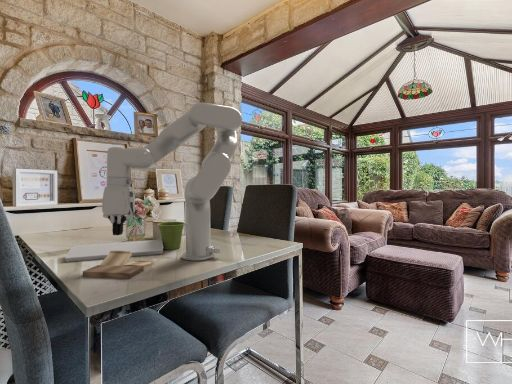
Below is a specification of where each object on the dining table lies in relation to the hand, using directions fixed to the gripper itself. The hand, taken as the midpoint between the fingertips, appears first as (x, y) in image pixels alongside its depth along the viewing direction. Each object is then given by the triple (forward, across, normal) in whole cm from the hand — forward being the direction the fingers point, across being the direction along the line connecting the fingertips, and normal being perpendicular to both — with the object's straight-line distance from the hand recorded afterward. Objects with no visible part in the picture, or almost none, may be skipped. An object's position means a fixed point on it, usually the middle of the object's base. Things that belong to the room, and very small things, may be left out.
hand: (117, 234), depth 96 cm
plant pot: (+10, -8, -28) cm, 30 cm away
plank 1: (+9, -1, +1) cm, 9 cm away
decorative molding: (+12, +9, -14) cm, 20 cm away
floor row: (+11, -5, +9) cm, 15 cm away
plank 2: (+11, -9, +1) cm, 14 cm away
